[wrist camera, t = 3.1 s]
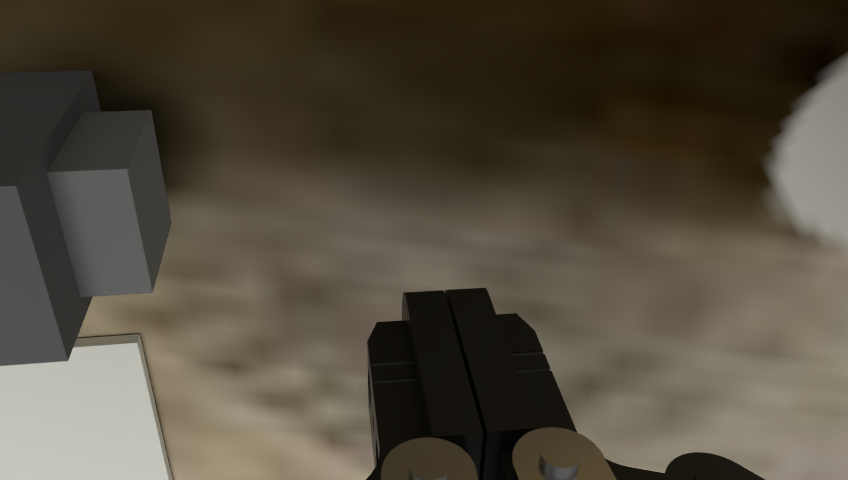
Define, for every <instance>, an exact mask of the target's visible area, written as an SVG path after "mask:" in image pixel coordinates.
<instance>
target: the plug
mask: <svg viewBox="0 0 848 480" xmlns="http://www.w3.org/2000/svg"><path fill="white" fill-rule="evenodd" d="M170 226H171V217H170V212H169V206H168V200H167V195H166V189H165V184H164V178H163V173H162V167H161V162H160V156H159V151H158V145H157V139H156V134H155V128H154V123H153V117H152V112H151V110H139V111H109V112H101V110H100V105H99V101H98V96H97V92H96V87H95V82H94V78H93V73H92V70H80V71H43V72H6V73H0V366H8V365H22V364H35V363H49V362H62V361H68V360H69V357H70V355H71V352H72V349H73V347H74V344H75V341H76V339H77V336H78V334H79V331H80V328H81V326H82V323H83V320H84V318H85V315H86V312H87V310H88V307H89V305H90V302H91V299H92V297H93V296H106V295H122V294H138V293H153V289H154V285H155V282H156V278H157V274H158V271H159V267H160V263H161V259H162V256H163V252H164V248H165V244H166V241H167V237H168V233H169V230H170Z"/></svg>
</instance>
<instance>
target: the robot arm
mask: <svg viewBox="0 0 848 480" xmlns="http://www.w3.org/2000/svg"><path fill="white" fill-rule="evenodd" d="M367 347H368V405H369V415H370V424H371V434H372V443H373V453H374V463H375V469H374V470H373V472H372V473H371V475H370V476H369V477H368V478H367V479H366V480H765V479H763V478H761V477H759V476H758V475H756V474H754V473H753V472H751V471H749V470H747V469H746V468H744V467H742V466H740V465H739V464H737V463H735V462H733V461H731V460H729V459H727V458H724V457H721V456H718V455H714V454H710V453H699V452H695V453H687V454H684V455H681V456H679V457H677V458H675V459H674V460H673V461H672V462H670V464H669V465H668V467H667V469H666V471H665V473H659V472H654V471H648V470H642V469H637V468H631V467H627V466H622V465H619V464H616V463H613V462H611V461H609V460H607V459H605V457H604V456H603V454H602V452H601V451H600V449H599V448H598V447H597V446H596V445H595V444H594V443H593V442H592V441H590V440H589V439H588V438H586V437H585V436H583V435H581V434H579V433H577V431H576V428H575V426H574V424H573V421H572V419H571V416H570V414H569V412H568V409H567V407H566V405H565V402H564V400H563V397H562V395H561V393H560V390H559V388H558V385H557V383H556V381H555V378H554V376H553V373H552V371H550V366H549V364H548V361H547V359H546V357H545V354H543V349H542V347H541V345H540V342H539V340H538V337H537V335H536V333H535V330H534V329H533V328H531V327H530V326H529V325H528V324H527V323H526V322H525V321H524V320H523V319H522V318H520V317H519V316H518V315H517V314H516V313H514V314H498V315H496V313H495V310H494V308H493V305H492V302H491V299H490V296H489V294H488V291H487V289H486V288H473V289H456V290H446V291H445V293H444V291H443V290H441V291H424V292H407V293H403V300H402V321H389V322H377V323H376V325H375V327H374V329H373V331H372V333H371V335H370V337H369V339H368V341H367Z"/></svg>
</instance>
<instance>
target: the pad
mask: <svg viewBox="0 0 848 480" xmlns="http://www.w3.org/2000/svg"><path fill="white" fill-rule="evenodd" d="M0 480H172V475H171V471H170V467H169V462H168V458H167V453H166V449H165V444H164V440H163V436H162V431H161V427H160V422H159V418H158V414H157V409H156V405H155V400H154V396H153V392H152V387H151V383H150V378H149V374H148V369H147V365H146V361H145V356H144V352H143V347H142V343H141V339H140V334H134V335H120V336H106V337H91V338H77V339H76V341H75V344H74V347H73V349H72V352H71V355H70V357H69V360H68V361H62V362H49V363H35V364H22V365H8V366H0Z"/></svg>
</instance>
